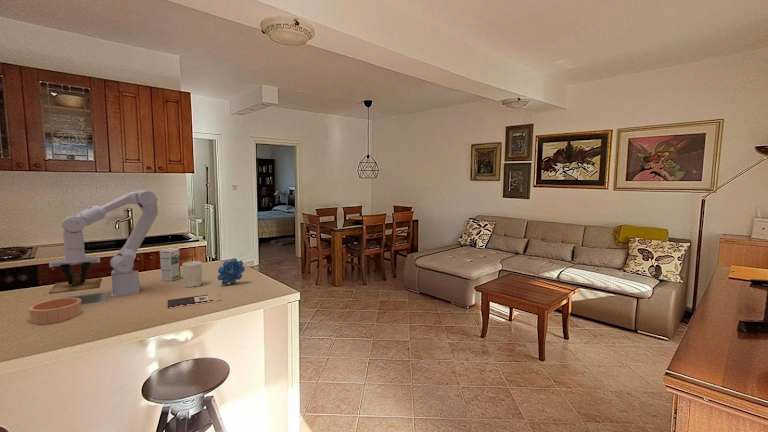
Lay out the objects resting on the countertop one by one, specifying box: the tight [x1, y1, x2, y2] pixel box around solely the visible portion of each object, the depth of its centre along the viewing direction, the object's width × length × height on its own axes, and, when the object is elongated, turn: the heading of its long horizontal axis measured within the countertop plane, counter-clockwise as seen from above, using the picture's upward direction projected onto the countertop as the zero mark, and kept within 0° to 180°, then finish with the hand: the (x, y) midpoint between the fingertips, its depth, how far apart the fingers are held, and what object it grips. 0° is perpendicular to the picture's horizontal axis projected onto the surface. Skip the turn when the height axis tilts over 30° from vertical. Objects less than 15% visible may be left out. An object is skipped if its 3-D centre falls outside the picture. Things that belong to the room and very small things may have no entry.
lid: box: [48, 272, 103, 295], centre depth 135 cm, size 14×14×5 cm
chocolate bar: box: [167, 294, 213, 309], centre depth 138 cm, size 9×1×18 cm
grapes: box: [216, 257, 246, 285], centre depth 162 cm, size 12×7×12 cm, turn 122°
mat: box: [50, 290, 108, 307], centre depth 136 cm, size 17×17×1 cm
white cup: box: [181, 260, 203, 288], centre depth 159 cm, size 8×8×10 cm
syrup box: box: [159, 247, 182, 282], centre depth 167 cm, size 6×6×14 cm
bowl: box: [27, 298, 83, 325], centre depth 120 cm, size 13×13×4 cm
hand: (77, 283), depth 135 cm, fingers closed on lid, 3 cm apart
